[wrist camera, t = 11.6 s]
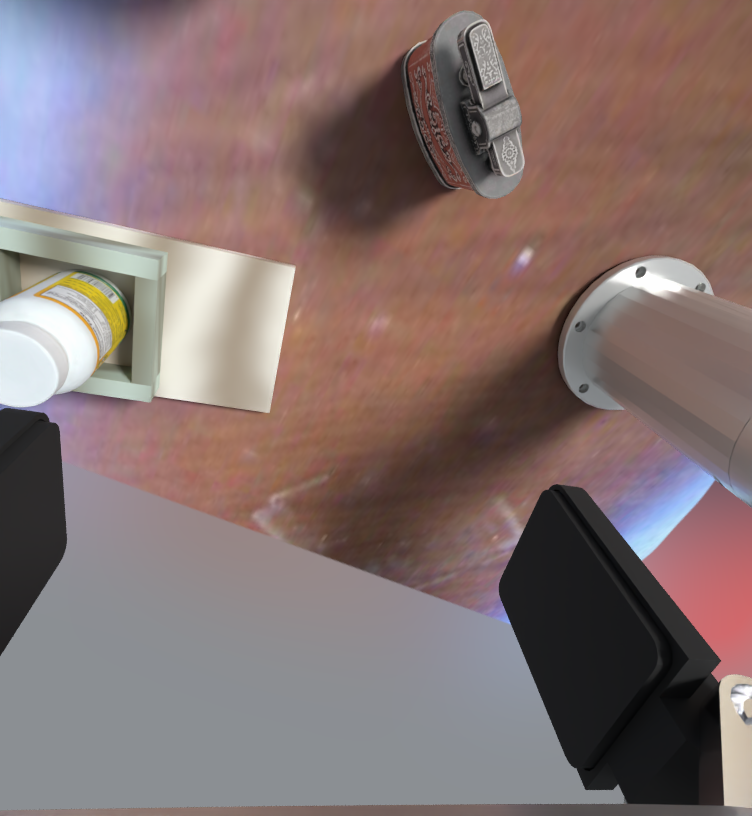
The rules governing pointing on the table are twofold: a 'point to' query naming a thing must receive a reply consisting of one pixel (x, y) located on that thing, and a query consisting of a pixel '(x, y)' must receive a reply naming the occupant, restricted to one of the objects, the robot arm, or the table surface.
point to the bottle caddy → (162, 306)
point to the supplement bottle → (58, 335)
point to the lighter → (464, 107)
